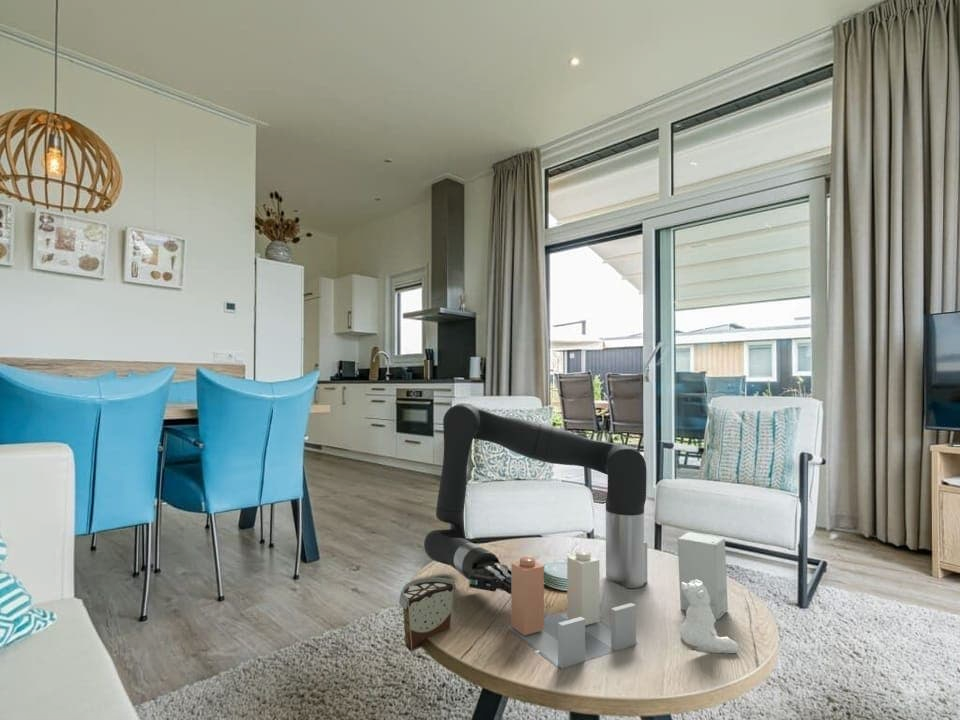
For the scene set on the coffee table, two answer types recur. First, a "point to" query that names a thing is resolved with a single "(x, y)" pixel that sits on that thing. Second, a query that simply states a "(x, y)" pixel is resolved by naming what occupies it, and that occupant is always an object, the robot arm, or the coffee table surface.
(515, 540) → the coffee table surface
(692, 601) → the sitting furry creature
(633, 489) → the robot arm
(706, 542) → the skincare box
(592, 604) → the cream plug
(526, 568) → the terracotta plug
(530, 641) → the grey holder stand
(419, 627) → the food container
